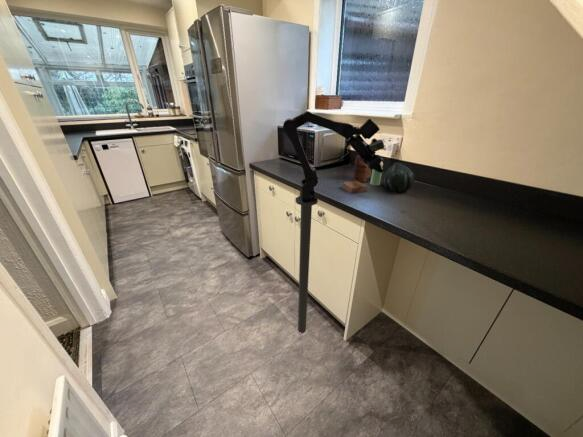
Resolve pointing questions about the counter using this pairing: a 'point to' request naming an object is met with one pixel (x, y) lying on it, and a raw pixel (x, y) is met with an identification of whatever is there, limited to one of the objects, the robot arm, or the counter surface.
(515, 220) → the counter surface
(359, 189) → the walnut block
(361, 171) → the wooden figurine
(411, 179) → the squash
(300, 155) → the robot arm
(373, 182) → the peg doll
